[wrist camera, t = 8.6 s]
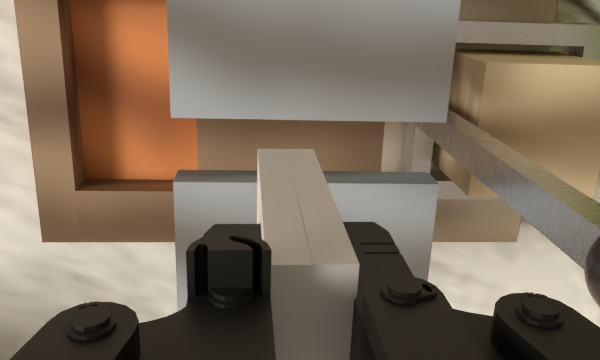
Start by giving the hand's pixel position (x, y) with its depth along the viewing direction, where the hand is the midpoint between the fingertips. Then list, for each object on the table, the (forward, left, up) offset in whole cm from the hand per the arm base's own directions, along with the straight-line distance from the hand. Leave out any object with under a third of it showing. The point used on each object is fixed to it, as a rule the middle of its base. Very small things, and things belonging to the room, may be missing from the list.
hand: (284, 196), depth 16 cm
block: (0, +12, -15) cm, 19 cm away
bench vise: (0, +1, -18) cm, 18 cm away
